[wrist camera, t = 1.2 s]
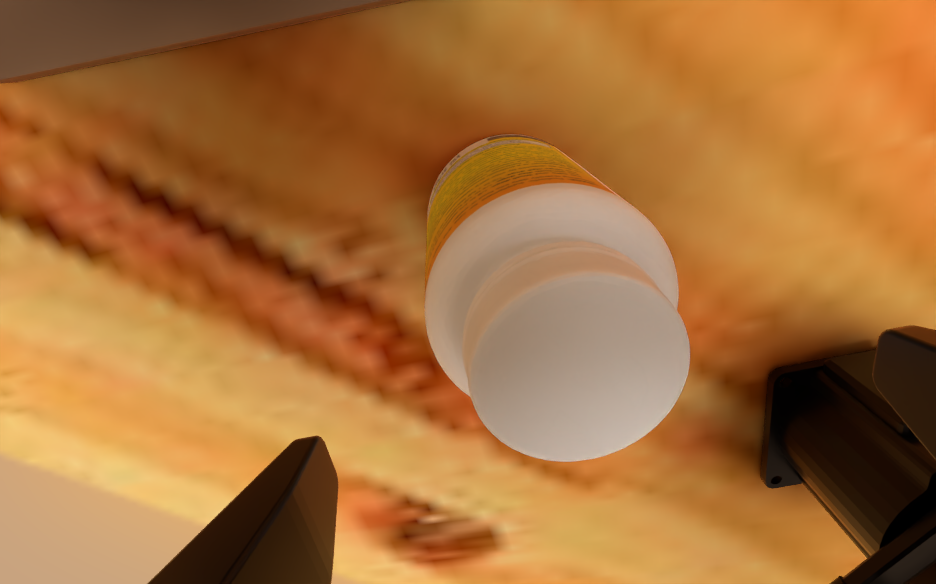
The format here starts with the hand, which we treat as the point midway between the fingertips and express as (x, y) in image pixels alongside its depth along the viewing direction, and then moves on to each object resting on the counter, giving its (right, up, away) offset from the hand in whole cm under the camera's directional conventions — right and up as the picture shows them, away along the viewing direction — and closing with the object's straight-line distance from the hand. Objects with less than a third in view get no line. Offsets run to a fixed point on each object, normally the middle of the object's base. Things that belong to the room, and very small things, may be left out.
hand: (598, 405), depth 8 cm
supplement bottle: (-1, +5, +10) cm, 11 cm away
